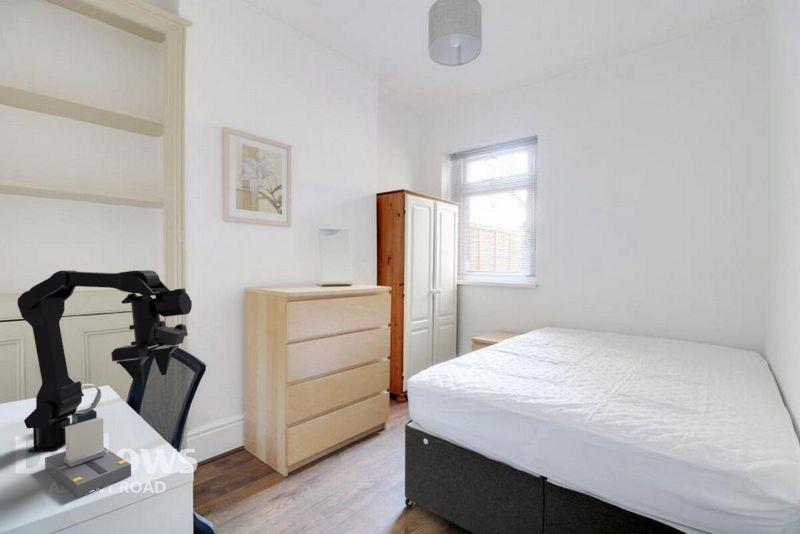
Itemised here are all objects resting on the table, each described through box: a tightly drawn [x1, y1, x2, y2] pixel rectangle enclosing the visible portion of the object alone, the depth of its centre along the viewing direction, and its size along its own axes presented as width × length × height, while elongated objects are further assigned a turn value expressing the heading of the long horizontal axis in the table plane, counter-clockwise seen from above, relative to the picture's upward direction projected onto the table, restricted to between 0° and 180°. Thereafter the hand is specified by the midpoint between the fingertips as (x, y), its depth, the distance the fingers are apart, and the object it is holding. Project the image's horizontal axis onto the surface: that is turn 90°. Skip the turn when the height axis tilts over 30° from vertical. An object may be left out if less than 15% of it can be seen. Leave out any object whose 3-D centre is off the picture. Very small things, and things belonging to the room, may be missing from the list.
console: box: [44, 446, 132, 499], centre depth 81 cm, size 20×9×3 cm, turn 57°
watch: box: [71, 383, 103, 425], centre depth 107 cm, size 6×8×11 cm
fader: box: [64, 416, 106, 467], centre depth 81 cm, size 4×6×8 cm, turn 147°
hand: (153, 379), depth 94 cm, fingers open, 9 cm apart
